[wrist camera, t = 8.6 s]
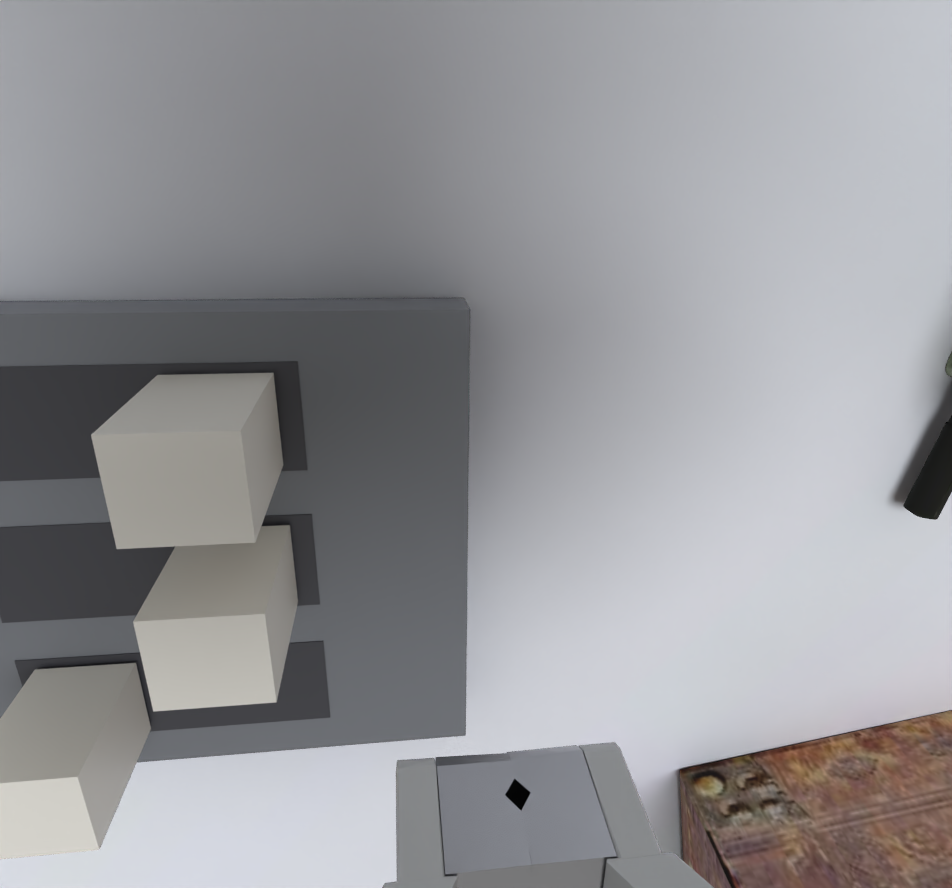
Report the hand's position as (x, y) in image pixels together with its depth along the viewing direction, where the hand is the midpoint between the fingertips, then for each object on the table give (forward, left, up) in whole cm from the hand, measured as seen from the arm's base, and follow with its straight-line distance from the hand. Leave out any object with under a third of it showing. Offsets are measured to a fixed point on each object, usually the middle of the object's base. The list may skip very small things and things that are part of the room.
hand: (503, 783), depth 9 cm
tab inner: (0, -7, -14) cm, 16 cm away
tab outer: (+11, -13, -14) cm, 22 cm away
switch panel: (+5, -10, -17) cm, 20 cm away
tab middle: (+5, -7, -14) cm, 17 cm away
